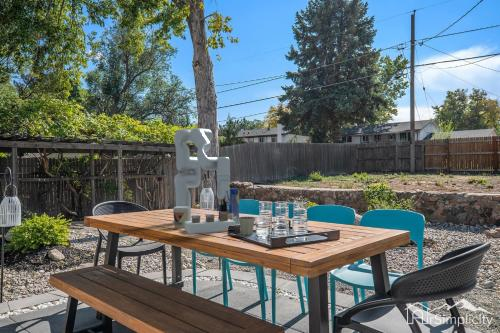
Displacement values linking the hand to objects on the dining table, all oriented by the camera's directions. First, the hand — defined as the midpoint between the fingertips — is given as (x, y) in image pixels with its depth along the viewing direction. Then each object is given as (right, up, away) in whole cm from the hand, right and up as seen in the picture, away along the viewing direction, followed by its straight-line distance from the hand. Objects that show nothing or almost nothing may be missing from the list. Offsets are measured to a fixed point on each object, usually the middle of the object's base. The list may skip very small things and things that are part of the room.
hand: (223, 211), depth 218 cm
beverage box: (+2, -11, +22) cm, 25 cm away
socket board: (-7, -10, -3) cm, 13 cm away
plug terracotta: (0, -8, 0) cm, 8 cm away
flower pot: (+13, -10, -16) cm, 23 cm away
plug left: (-15, -10, -6) cm, 19 cm away
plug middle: (-7, -10, -3) cm, 13 cm away
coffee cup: (-26, -11, +10) cm, 30 cm away
